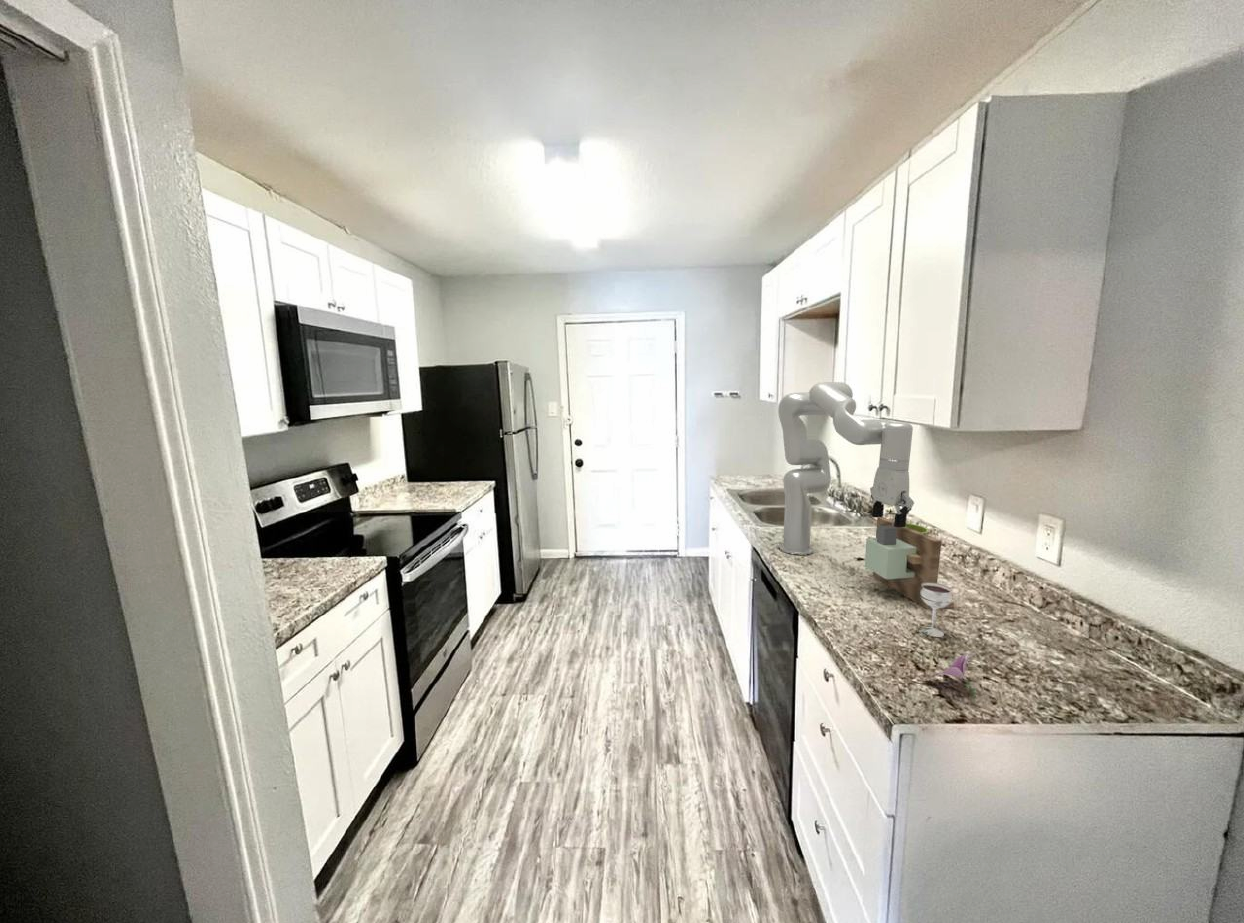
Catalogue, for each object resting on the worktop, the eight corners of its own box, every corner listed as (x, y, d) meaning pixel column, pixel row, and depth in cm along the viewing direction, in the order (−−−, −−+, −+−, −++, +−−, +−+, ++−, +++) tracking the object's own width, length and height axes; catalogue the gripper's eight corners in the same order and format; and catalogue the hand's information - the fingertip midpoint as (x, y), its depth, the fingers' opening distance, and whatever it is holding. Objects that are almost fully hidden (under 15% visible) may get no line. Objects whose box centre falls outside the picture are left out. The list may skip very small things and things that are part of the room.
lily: (977, 680, 101) (955, 636, 104) (1018, 694, 90) (993, 643, 92) (925, 699, 101) (904, 654, 103) (961, 715, 89) (936, 664, 92)
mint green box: (864, 566, 145) (867, 522, 142) (890, 564, 146) (893, 521, 144) (886, 579, 135) (889, 532, 133) (914, 577, 136) (918, 531, 134)
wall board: (865, 576, 154) (870, 517, 151) (895, 574, 155) (900, 516, 152) (919, 610, 131) (926, 541, 128) (953, 607, 132) (961, 539, 129)
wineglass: (933, 640, 115) (938, 594, 113) (910, 627, 122) (914, 583, 120) (954, 636, 117) (959, 591, 115) (930, 623, 123) (935, 580, 122)
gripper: (863, 460, 143) (858, 514, 146) (902, 471, 126) (896, 531, 129) (885, 459, 144) (880, 513, 147) (928, 470, 127) (921, 530, 130)
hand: (888, 521), depth 138 cm, fingers open, 9 cm apart
